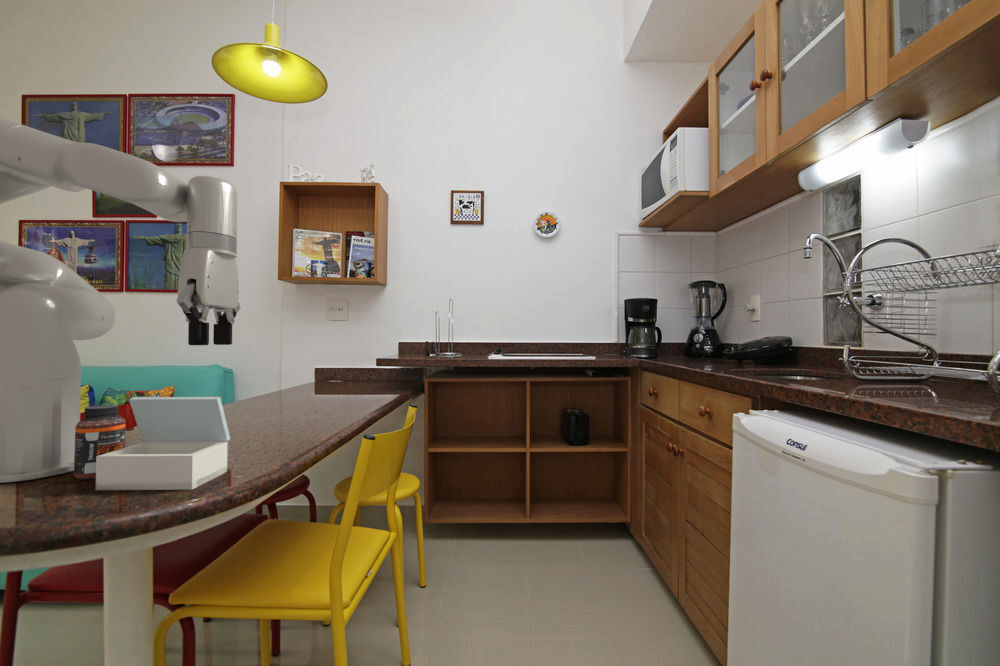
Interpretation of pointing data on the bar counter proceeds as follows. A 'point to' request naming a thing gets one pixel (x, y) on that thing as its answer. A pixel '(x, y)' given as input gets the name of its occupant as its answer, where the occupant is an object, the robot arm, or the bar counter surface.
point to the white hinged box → (161, 466)
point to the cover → (180, 419)
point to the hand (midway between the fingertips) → (211, 343)
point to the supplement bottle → (97, 438)
